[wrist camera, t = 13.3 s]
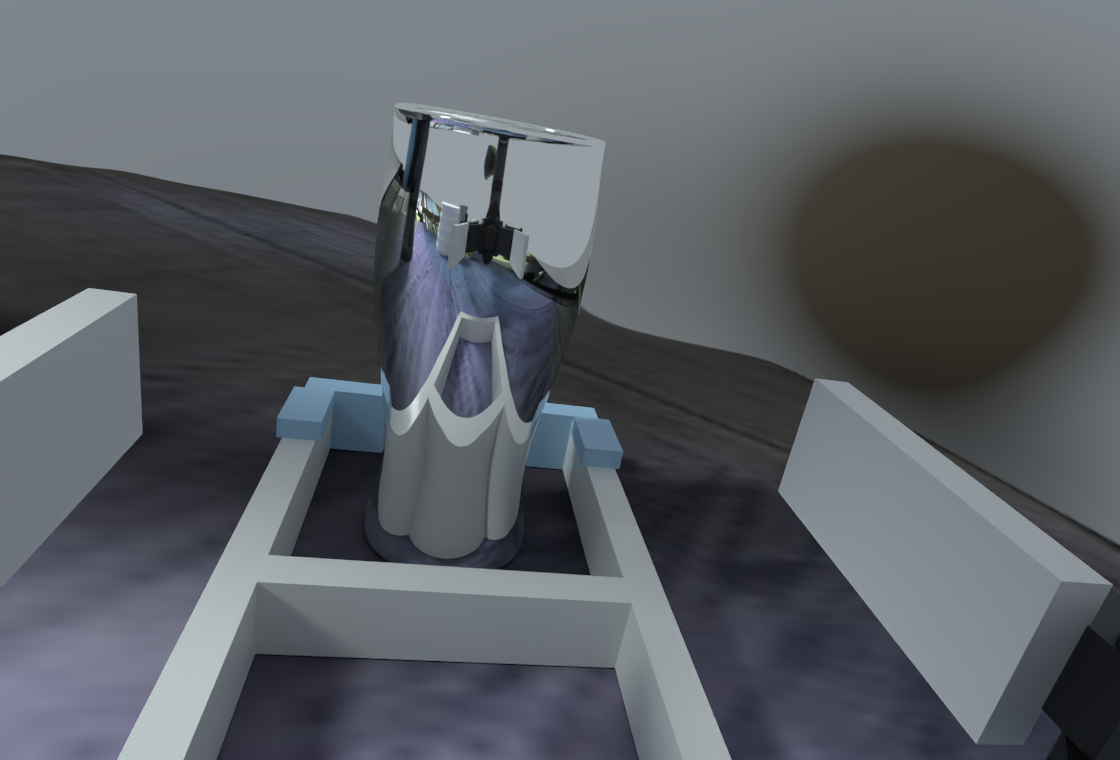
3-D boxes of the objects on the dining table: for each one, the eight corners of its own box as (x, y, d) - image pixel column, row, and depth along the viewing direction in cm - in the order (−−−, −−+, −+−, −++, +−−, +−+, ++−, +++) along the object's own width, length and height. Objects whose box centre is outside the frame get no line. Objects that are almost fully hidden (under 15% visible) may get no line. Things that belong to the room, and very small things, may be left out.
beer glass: (527, 491, 31) (594, 135, 26) (541, 595, 25) (634, 151, 19) (365, 475, 30) (399, 99, 24) (335, 581, 23) (373, 102, 18)
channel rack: (850, 1280, 11) (907, 1199, 10) (-130, 1413, 8) (-172, 1321, 8) (583, 459, 35) (593, 414, 34) (307, 433, 32) (309, 383, 31)
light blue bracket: (607, 520, 30) (623, 451, 29) (274, 494, 27) (276, 417, 26) (586, 460, 35) (599, 398, 34) (302, 432, 32) (305, 366, 31)
